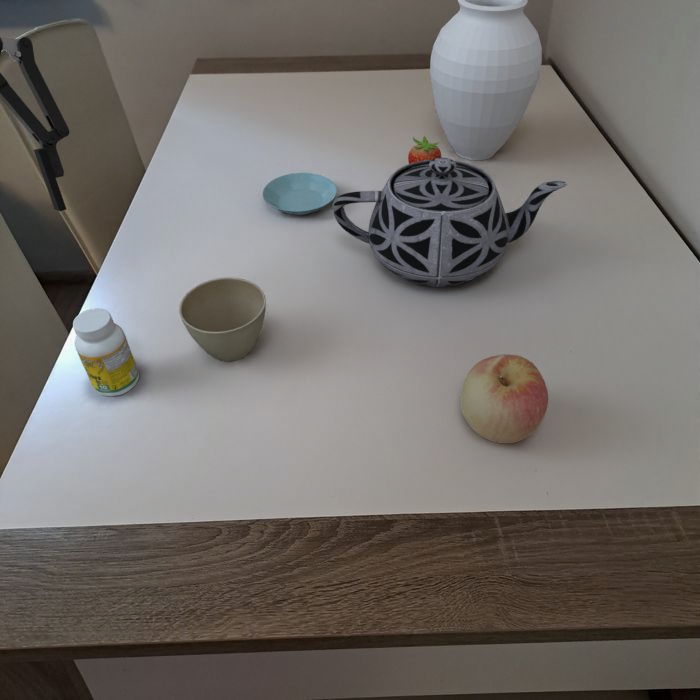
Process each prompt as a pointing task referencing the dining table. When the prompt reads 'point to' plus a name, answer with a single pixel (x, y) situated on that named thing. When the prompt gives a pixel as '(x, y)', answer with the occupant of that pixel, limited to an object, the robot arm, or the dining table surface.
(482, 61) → the vase
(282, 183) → the saucer
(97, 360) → the supplement bottle
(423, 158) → the fruit
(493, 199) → the teapot
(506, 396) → the apple
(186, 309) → the bowl
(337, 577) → the dining table surface
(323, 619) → the dining table surface
